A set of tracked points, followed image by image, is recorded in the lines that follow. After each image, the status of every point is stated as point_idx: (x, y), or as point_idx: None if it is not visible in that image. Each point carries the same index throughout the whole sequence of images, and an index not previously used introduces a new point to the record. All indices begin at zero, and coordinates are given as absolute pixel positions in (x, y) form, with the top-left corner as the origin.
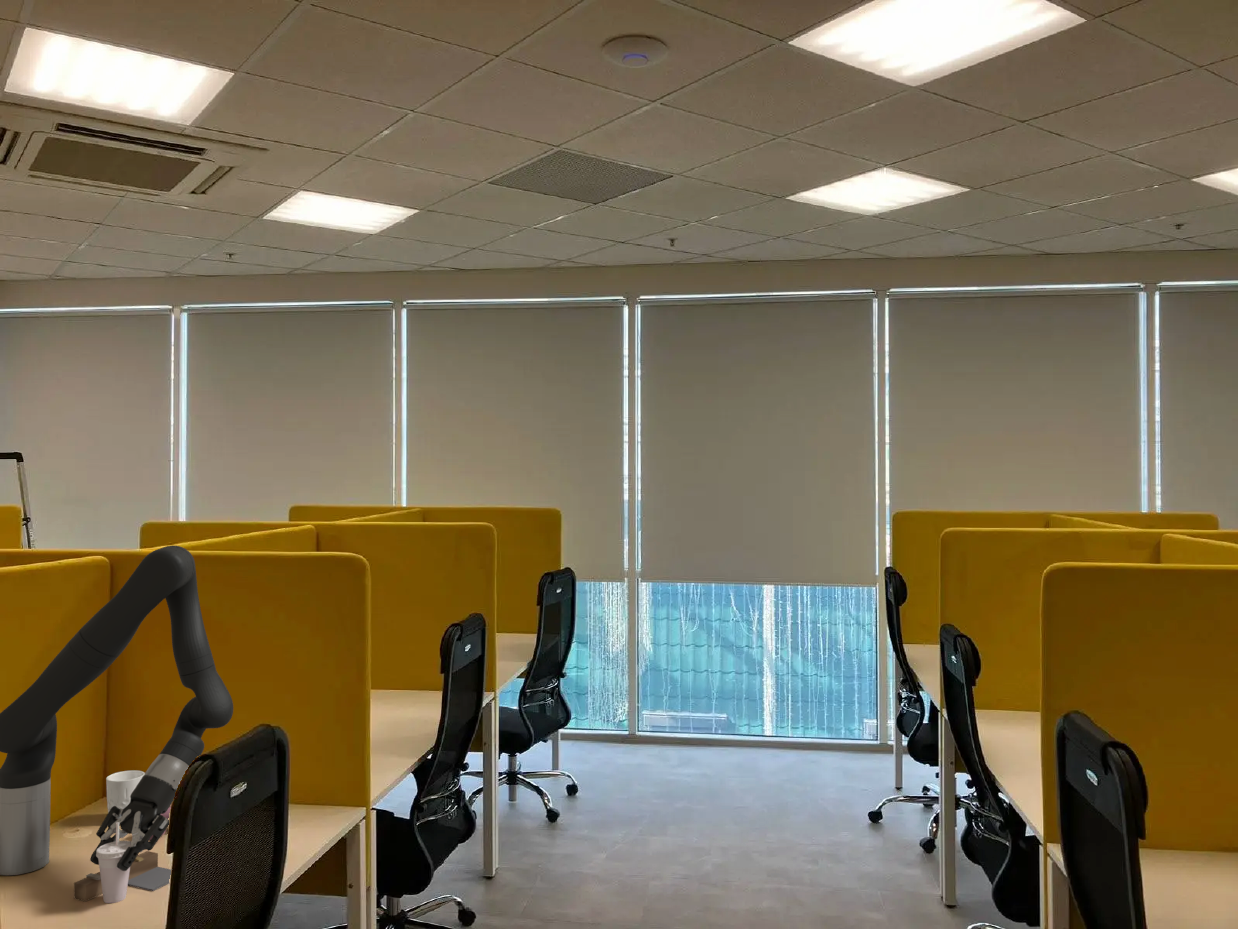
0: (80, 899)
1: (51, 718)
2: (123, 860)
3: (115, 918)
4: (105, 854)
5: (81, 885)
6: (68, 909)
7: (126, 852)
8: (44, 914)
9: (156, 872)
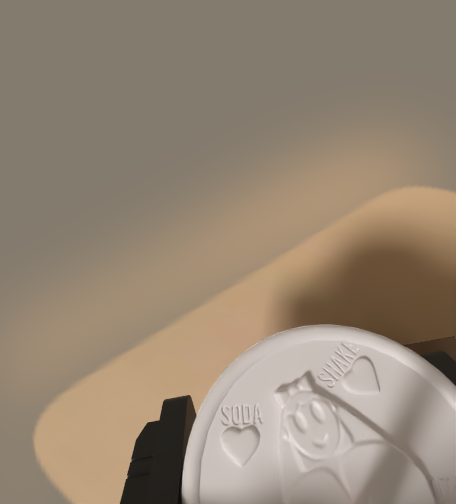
0: None
1: None
2: (158, 434)
3: (142, 350)
4: (258, 343)
5: (406, 345)
6: (343, 297)
7: (158, 480)
8: (364, 240)
9: None
